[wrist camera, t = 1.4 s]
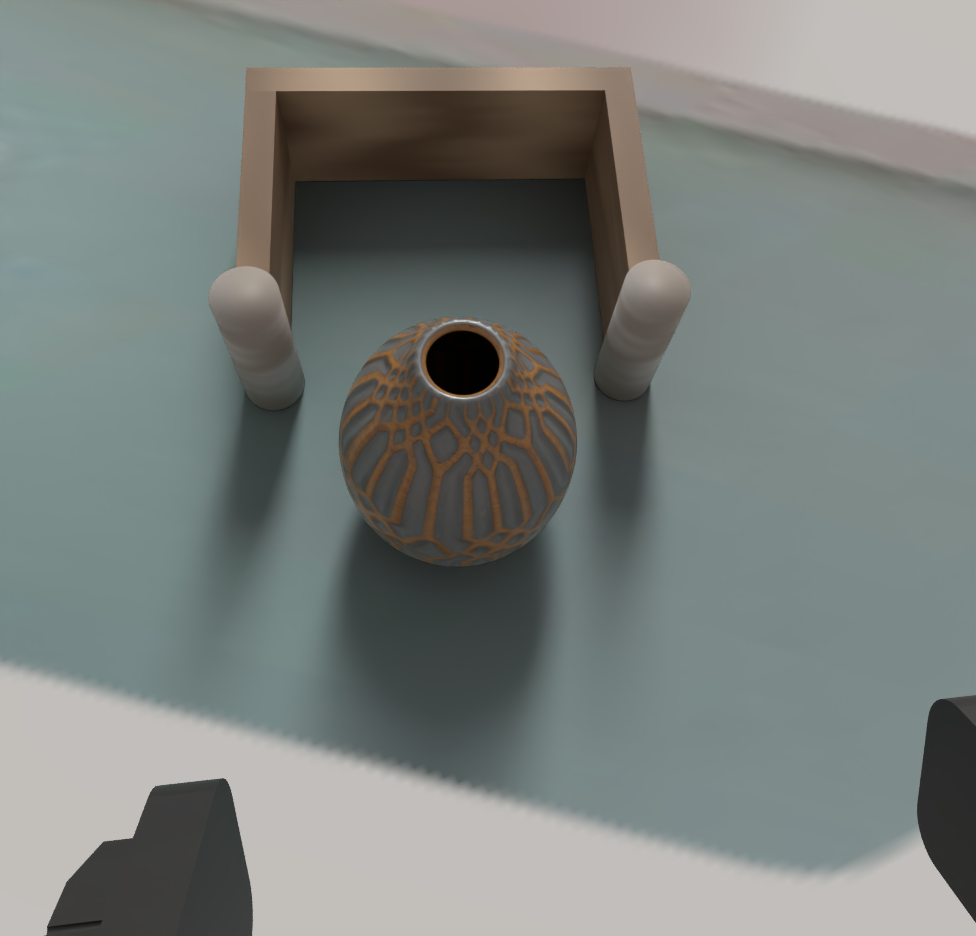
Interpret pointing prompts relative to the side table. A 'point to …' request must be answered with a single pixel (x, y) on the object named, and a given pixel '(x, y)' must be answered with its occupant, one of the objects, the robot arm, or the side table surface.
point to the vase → (457, 441)
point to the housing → (444, 156)
